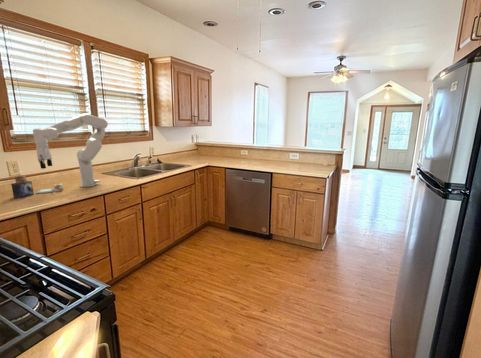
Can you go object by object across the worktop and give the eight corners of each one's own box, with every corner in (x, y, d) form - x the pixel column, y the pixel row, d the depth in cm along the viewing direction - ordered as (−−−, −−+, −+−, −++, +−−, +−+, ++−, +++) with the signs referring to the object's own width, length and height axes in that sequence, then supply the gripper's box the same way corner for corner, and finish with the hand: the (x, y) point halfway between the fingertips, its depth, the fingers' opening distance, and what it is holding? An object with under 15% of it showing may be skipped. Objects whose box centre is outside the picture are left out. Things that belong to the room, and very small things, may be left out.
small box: (19, 198, 188) (16, 184, 186) (13, 197, 190) (10, 183, 188) (34, 194, 198) (32, 181, 196) (28, 193, 200) (25, 180, 197)
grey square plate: (54, 189, 212) (54, 188, 212) (52, 192, 203) (51, 191, 203) (39, 190, 208) (39, 189, 207) (36, 194, 199) (36, 192, 199)
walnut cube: (26, 181, 195) (25, 174, 194) (24, 182, 190) (23, 176, 189) (18, 182, 193) (16, 175, 192) (16, 183, 188) (14, 176, 187)
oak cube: (63, 189, 212) (62, 183, 211) (62, 190, 208) (61, 184, 207) (56, 190, 210) (55, 184, 209) (55, 191, 206) (54, 185, 205)
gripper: (42, 144, 204) (47, 165, 209) (30, 146, 188) (35, 169, 192) (53, 143, 206) (57, 164, 210) (41, 146, 189) (46, 169, 193)
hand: (46, 167), depth 201 cm, fingers open, 9 cm apart
